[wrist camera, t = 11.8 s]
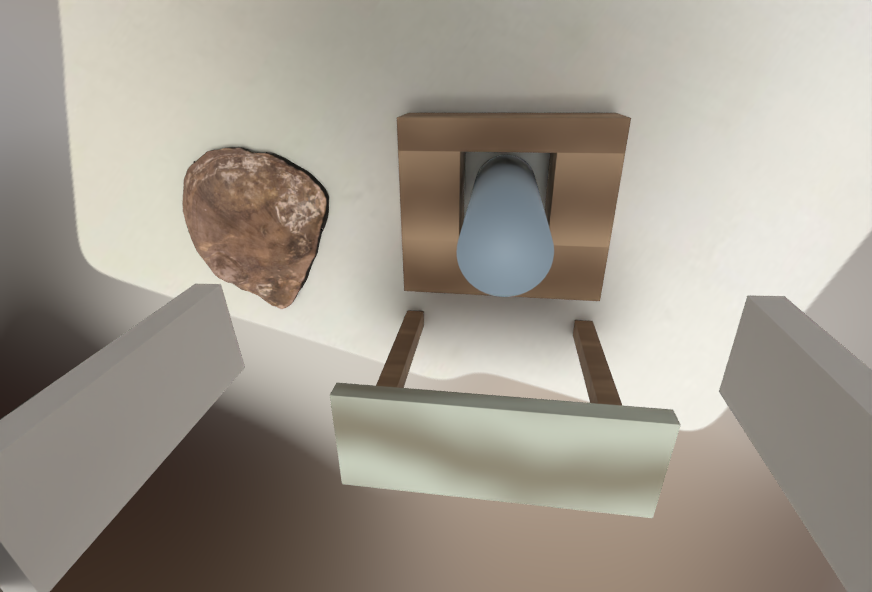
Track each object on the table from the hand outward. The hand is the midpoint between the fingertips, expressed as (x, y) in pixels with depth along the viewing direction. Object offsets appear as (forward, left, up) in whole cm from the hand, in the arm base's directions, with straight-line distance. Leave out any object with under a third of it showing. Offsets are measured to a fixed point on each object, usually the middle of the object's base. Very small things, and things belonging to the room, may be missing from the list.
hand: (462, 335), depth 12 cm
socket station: (+5, +1, -23) cm, 24 cm away
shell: (+5, -19, -24) cm, 31 cm away
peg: (+1, +1, -23) cm, 24 cm away
